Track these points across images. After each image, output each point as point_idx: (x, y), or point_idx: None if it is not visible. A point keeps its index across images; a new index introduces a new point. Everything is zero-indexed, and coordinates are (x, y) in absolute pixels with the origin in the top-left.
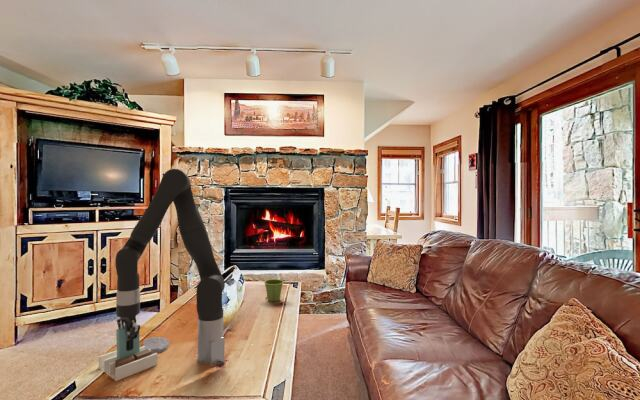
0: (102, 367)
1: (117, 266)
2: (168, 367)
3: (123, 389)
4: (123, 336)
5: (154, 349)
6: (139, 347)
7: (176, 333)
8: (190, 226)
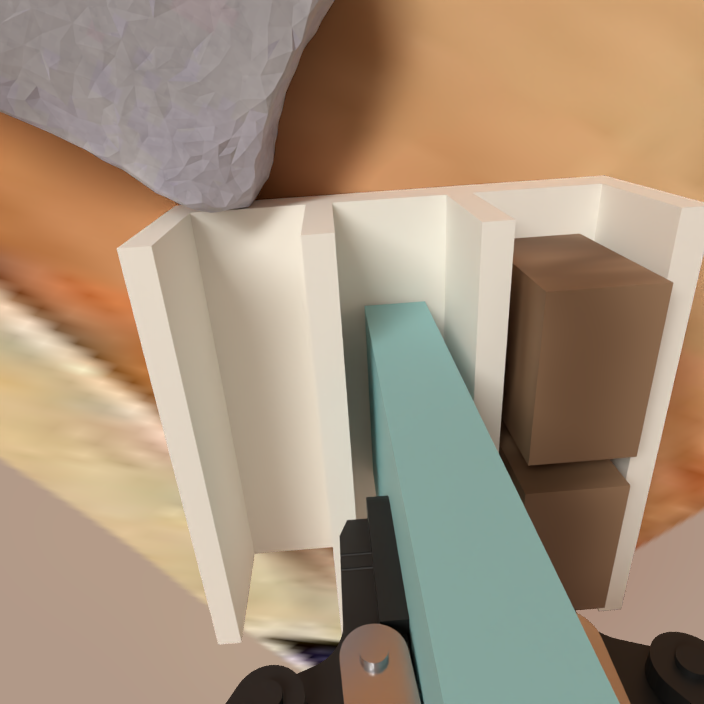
0: (258, 537)
1: None
2: (694, 72)
3: (656, 487)
4: None
5: (293, 51)
6: (465, 387)
7: None
8: None
